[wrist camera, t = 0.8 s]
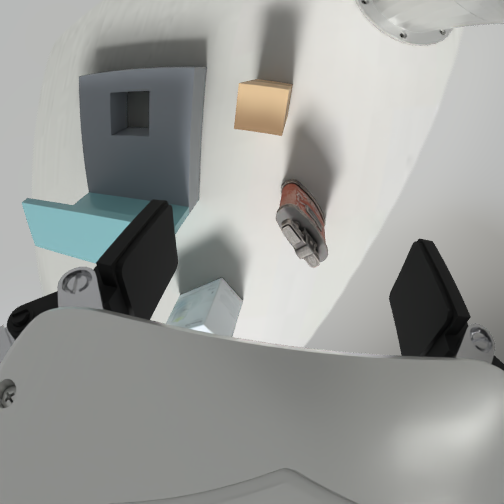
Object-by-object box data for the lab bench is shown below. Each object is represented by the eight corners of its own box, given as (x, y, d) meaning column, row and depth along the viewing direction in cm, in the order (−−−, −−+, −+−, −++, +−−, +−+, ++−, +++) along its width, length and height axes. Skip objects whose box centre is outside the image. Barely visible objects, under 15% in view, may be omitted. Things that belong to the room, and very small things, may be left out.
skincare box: (221, 275, 46) (203, 325, 38) (243, 300, 49) (231, 350, 41) (178, 293, 51) (157, 338, 43) (200, 315, 54) (183, 360, 45)
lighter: (330, 221, 37) (336, 270, 29) (309, 232, 39) (309, 282, 31) (297, 174, 34) (294, 212, 26) (275, 187, 36) (265, 229, 28)
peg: (257, 79, 28) (239, 83, 20) (292, 84, 27) (289, 90, 19) (252, 111, 30) (234, 128, 22) (287, 116, 30) (281, 135, 22)
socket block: (95, 73, 28) (4, 98, 16) (210, 67, 27) (139, 73, 15) (102, 186, 39) (35, 245, 27) (202, 200, 38) (152, 278, 26)
